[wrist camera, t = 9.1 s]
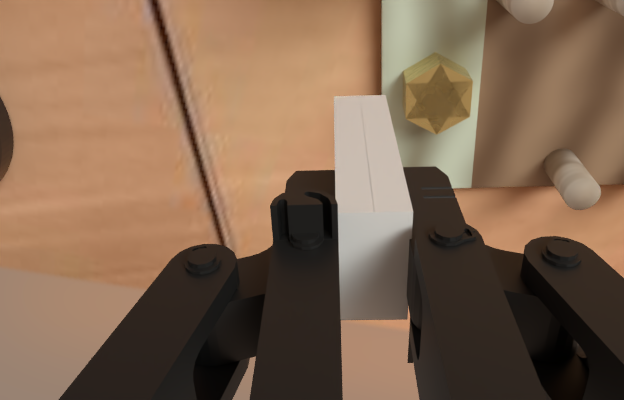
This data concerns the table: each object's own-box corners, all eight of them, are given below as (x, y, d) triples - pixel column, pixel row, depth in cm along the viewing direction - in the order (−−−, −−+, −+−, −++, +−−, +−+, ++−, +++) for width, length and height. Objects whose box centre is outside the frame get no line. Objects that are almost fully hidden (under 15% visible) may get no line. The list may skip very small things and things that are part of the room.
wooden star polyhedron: (401, 120, 43) (405, 135, 41) (403, 53, 41) (406, 65, 38) (461, 118, 43) (468, 133, 40) (466, 50, 40) (474, 62, 38)
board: (381, 182, 47) (385, 223, 42) (381, -41, 39) (386, -26, 34) (675, 175, 45) (719, 216, 40) (742, -61, 37) (809, -48, 32)
